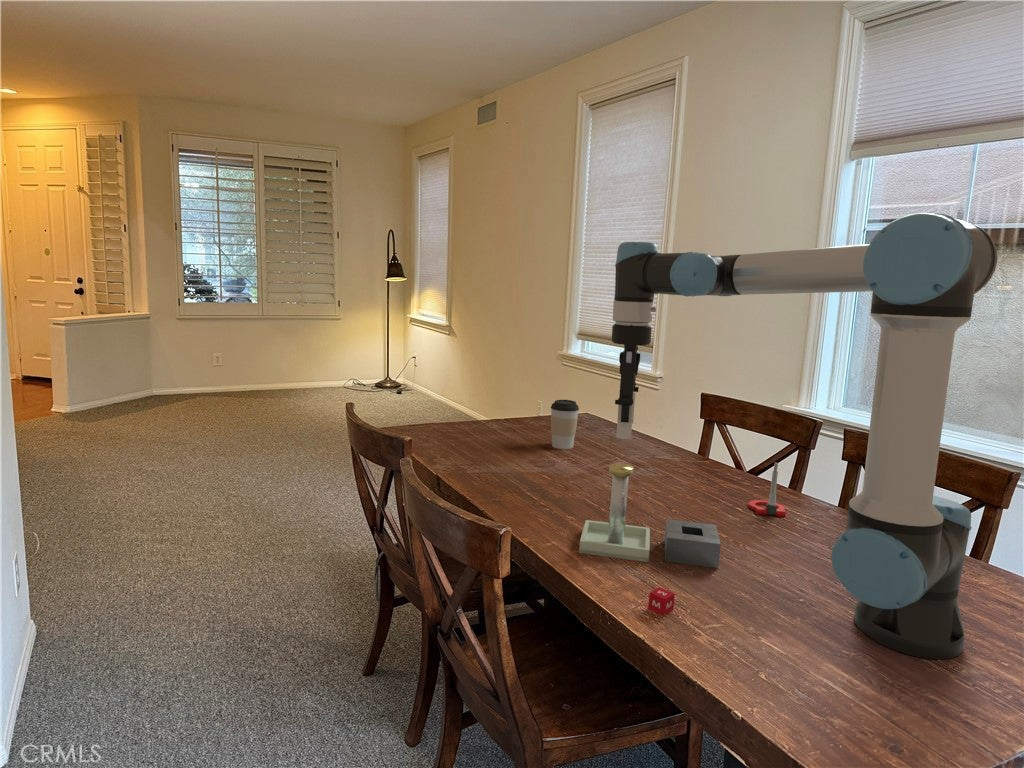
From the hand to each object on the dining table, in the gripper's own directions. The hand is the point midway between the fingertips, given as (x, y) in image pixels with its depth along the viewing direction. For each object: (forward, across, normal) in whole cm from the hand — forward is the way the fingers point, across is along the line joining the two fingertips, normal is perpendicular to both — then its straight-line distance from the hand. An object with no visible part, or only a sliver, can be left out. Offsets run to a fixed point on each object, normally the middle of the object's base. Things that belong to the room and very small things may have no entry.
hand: (625, 430), depth 129 cm
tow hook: (+25, +34, -34) cm, 54 cm away
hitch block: (+25, +1, -14) cm, 29 cm away
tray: (+25, 0, 0) cm, 25 cm away
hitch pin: (+24, 0, 0) cm, 24 cm away
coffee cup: (+24, +73, +22) cm, 80 cm away
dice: (+25, -23, -8) cm, 35 cm away
